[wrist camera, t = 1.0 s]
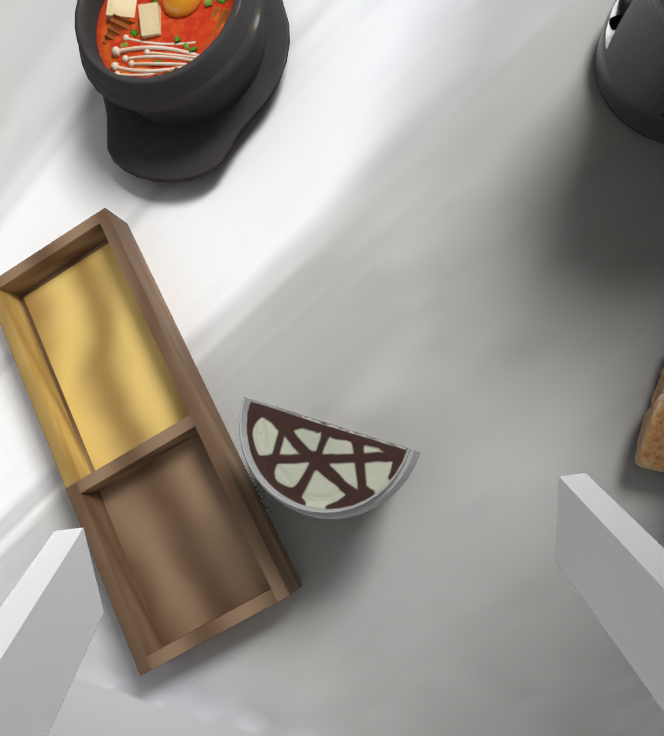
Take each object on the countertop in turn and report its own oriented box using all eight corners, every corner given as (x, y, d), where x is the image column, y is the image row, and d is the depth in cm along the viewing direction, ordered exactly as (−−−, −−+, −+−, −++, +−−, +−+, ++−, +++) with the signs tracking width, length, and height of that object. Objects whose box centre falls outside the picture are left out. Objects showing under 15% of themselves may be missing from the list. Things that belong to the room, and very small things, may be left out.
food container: (258, 480, 47) (206, 485, 38) (281, 408, 48) (236, 394, 38) (404, 531, 44) (388, 551, 35) (426, 453, 45) (418, 451, 35)
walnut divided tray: (127, 223, 54) (104, 207, 50) (302, 585, 45) (289, 595, 42) (14, 296, 55) (-15, 285, 52) (163, 660, 47) (140, 675, 43)
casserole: (259, 204, 51) (221, 156, 43) (80, 179, 56) (16, 131, 48) (324, -49, 54) (301, -139, 46) (149, -54, 58) (99, -137, 50)
